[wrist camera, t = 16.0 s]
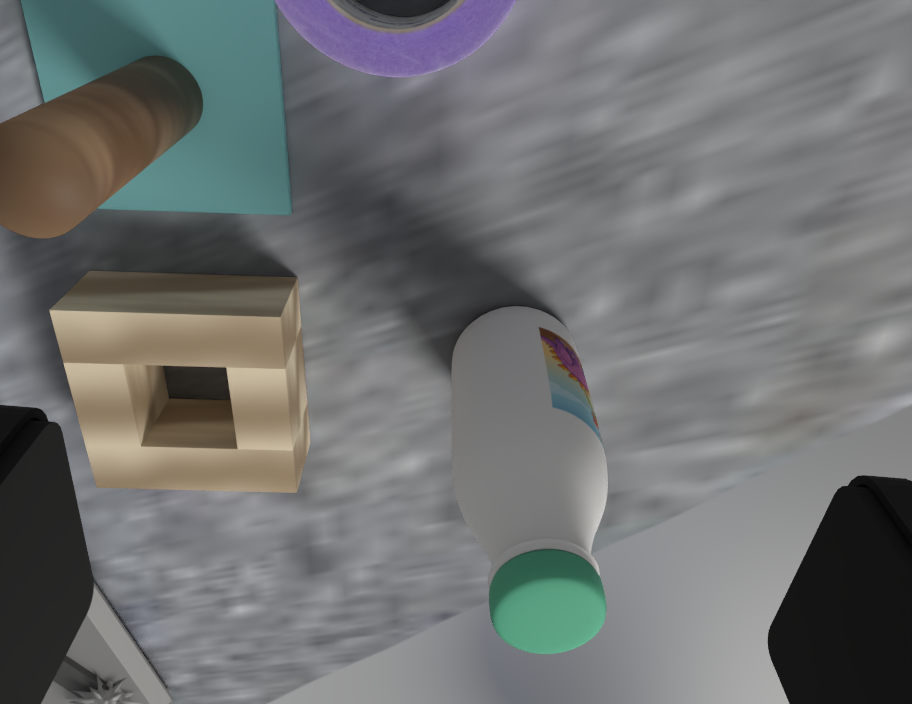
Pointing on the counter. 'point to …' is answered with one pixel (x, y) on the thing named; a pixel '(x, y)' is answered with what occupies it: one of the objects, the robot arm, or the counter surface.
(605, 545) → the counter surface
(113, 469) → the eye block
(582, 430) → the milk bottle
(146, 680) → the decorative plate
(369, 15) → the tape roll
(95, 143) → the walnut peg
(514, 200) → the counter surface
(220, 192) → the teal mat
